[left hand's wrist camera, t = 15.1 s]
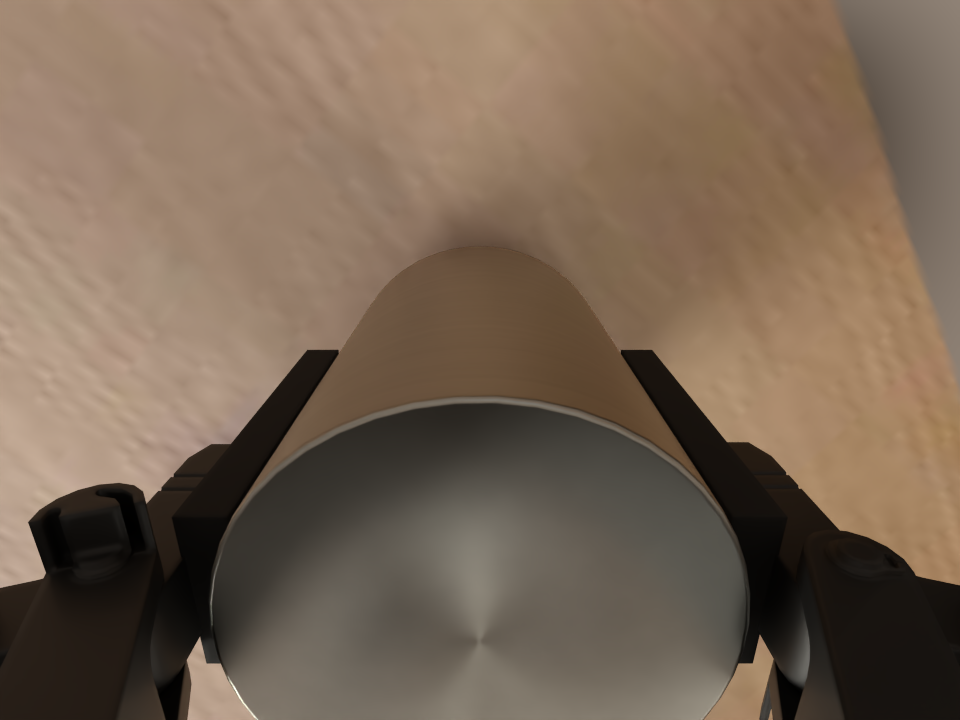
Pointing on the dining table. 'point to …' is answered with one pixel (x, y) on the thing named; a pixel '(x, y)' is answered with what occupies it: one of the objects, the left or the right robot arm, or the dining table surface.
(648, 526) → the can
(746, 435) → the dining table surface
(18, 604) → the left robot arm
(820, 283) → the dining table surface
